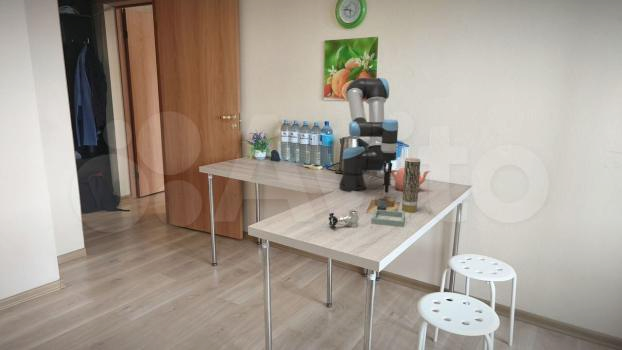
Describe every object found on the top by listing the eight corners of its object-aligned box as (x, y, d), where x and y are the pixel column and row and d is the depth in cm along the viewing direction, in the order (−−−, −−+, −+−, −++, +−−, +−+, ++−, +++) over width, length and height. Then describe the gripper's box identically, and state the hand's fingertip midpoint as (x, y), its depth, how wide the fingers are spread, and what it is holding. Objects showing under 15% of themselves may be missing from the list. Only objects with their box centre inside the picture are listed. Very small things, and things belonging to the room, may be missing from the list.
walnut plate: (374, 205, 194) (374, 199, 193) (376, 201, 200) (376, 195, 200) (393, 207, 191) (393, 201, 191) (394, 203, 198) (394, 197, 197)
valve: (354, 223, 172) (328, 225, 168) (355, 208, 170) (328, 210, 167) (361, 228, 166) (333, 231, 162) (361, 213, 164) (334, 215, 161)
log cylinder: (417, 210, 189) (421, 158, 183) (415, 215, 183) (419, 161, 177) (402, 209, 191) (405, 157, 186) (400, 213, 185) (404, 160, 179)
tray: (371, 225, 169) (371, 218, 168) (375, 215, 181) (375, 209, 180) (402, 228, 165) (403, 221, 165) (404, 218, 178) (404, 212, 177)
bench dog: (376, 212, 183) (377, 200, 181) (377, 210, 185) (378, 198, 184) (385, 213, 182) (386, 201, 180) (386, 211, 184) (387, 199, 183)
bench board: (365, 214, 183) (365, 212, 183) (371, 201, 203) (371, 199, 203) (396, 217, 179) (396, 215, 179) (400, 203, 200) (400, 202, 199)
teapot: (388, 187, 231) (389, 165, 228) (411, 185, 236) (412, 163, 233) (405, 195, 215) (406, 171, 212) (429, 192, 221) (431, 169, 218)
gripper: (395, 154, 189) (392, 202, 194) (397, 149, 201) (394, 195, 206) (379, 153, 191) (377, 200, 196) (382, 149, 203) (380, 194, 208)
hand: (386, 197), depth 201 cm, fingers closed
